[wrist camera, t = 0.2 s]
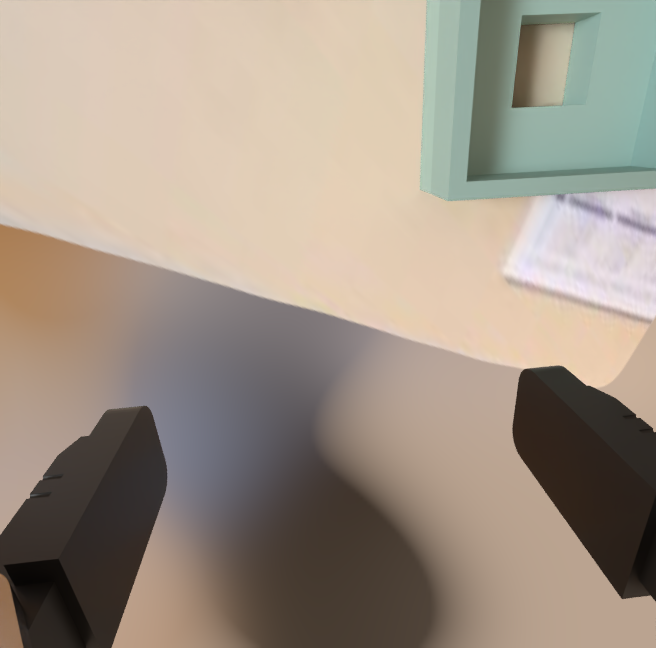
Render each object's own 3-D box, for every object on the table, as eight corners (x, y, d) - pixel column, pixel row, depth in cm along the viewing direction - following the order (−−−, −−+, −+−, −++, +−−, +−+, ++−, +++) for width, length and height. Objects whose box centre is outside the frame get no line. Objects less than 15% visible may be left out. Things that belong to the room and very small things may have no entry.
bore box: (429, -72, 29) (468, -130, 23) (668, -78, 30) (771, -136, 24) (419, 189, 36) (448, 201, 30) (614, 177, 37) (683, 186, 31)
